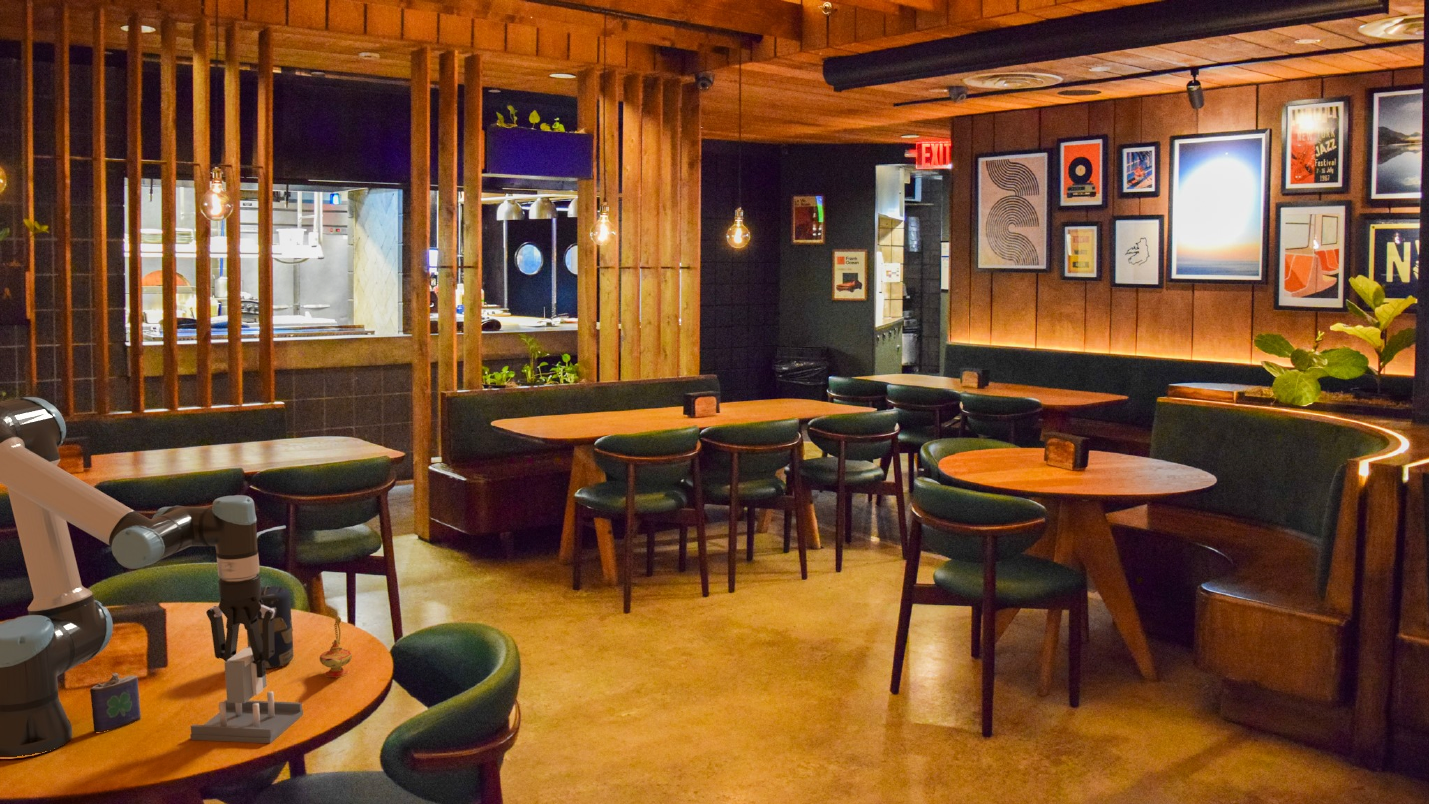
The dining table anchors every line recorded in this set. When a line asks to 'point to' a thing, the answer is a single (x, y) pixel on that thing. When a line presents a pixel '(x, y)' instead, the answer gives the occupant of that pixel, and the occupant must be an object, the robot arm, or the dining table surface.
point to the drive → (240, 677)
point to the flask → (115, 703)
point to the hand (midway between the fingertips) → (247, 692)
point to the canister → (278, 624)
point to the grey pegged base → (249, 721)
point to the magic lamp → (336, 656)
